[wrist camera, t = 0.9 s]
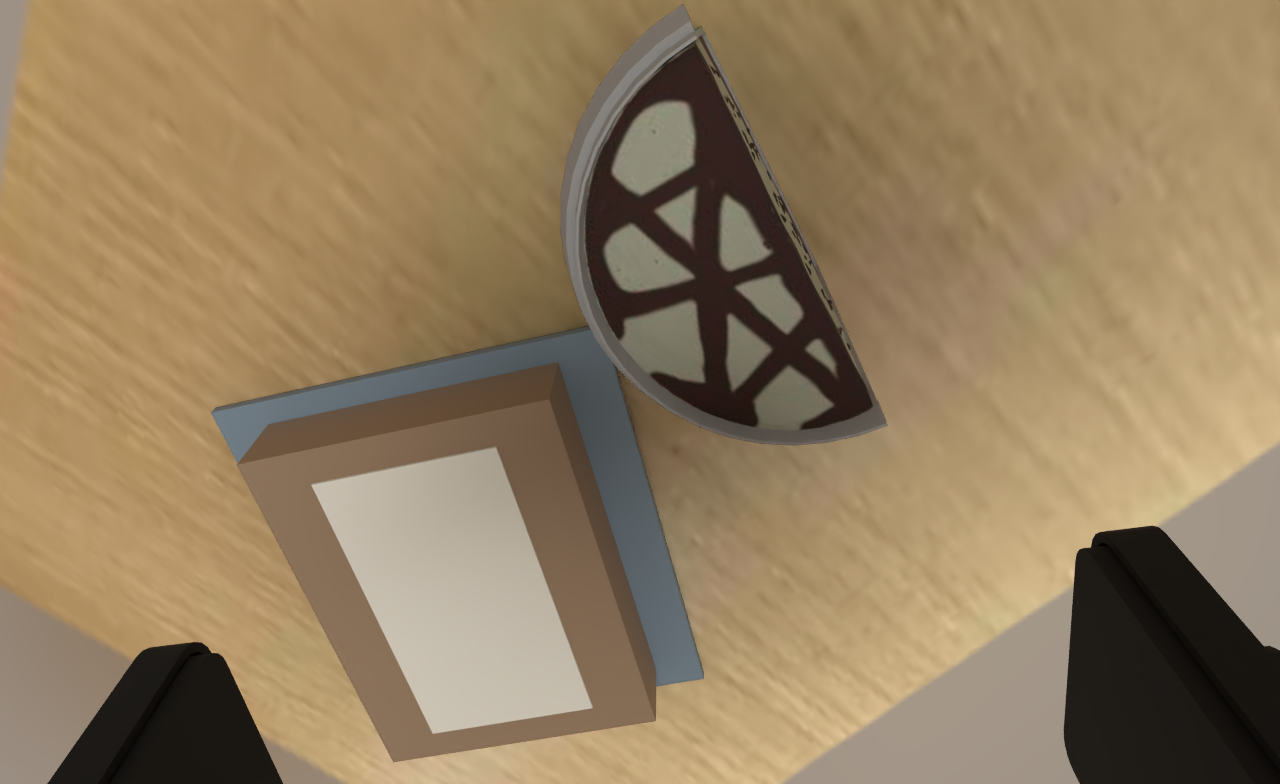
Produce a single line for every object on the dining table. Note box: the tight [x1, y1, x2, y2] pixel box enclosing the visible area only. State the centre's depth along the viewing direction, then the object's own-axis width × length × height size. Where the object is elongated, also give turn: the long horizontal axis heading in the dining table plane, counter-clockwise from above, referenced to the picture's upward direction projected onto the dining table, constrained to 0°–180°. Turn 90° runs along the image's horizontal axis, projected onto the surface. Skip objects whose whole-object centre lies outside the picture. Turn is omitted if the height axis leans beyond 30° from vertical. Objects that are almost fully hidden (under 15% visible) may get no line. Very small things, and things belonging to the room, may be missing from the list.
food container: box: [561, 4, 887, 445], centre depth 28 cm, size 12×6×10 cm, turn 29°
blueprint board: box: [211, 326, 704, 762], centre depth 38 cm, size 16×18×4 cm
